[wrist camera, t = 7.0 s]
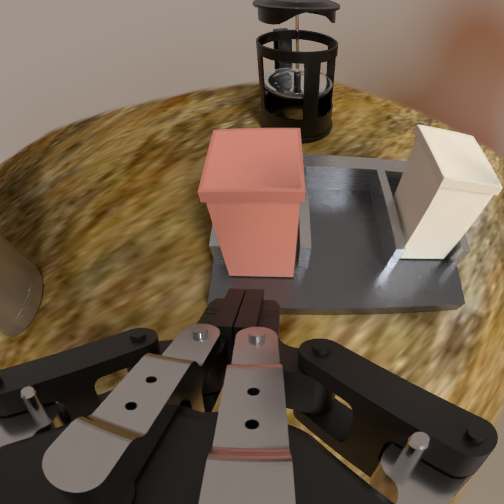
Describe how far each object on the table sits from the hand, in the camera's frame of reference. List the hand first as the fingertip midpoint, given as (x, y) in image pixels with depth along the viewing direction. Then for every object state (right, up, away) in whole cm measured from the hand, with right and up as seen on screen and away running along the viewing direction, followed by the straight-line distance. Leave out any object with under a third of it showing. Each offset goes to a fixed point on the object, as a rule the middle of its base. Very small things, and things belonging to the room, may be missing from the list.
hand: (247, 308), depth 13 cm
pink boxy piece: (+1, +3, +12) cm, 12 cm away
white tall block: (+15, +4, +11) cm, 19 cm away
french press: (+6, +20, +23) cm, 31 cm away
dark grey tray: (+8, +3, +13) cm, 15 cm away
